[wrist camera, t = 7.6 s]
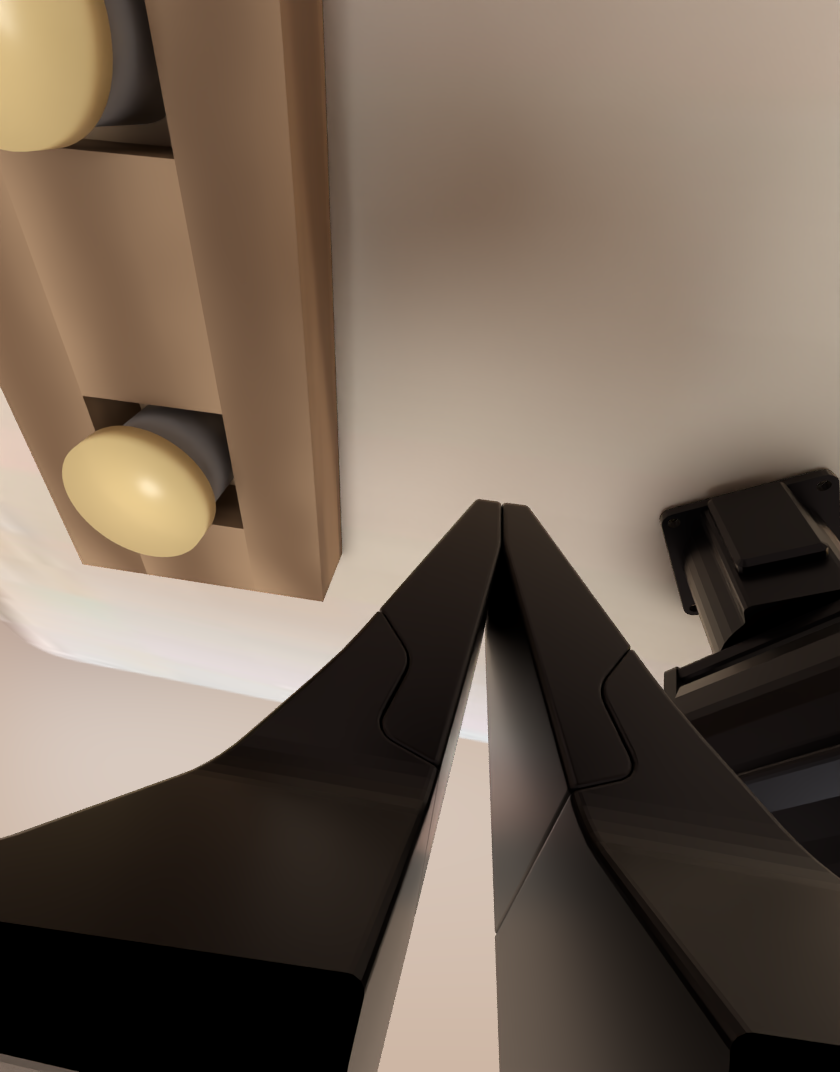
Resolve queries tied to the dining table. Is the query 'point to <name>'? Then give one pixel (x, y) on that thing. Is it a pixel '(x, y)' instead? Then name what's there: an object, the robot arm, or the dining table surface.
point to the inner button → (151, 479)
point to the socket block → (191, 289)
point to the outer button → (74, 70)
